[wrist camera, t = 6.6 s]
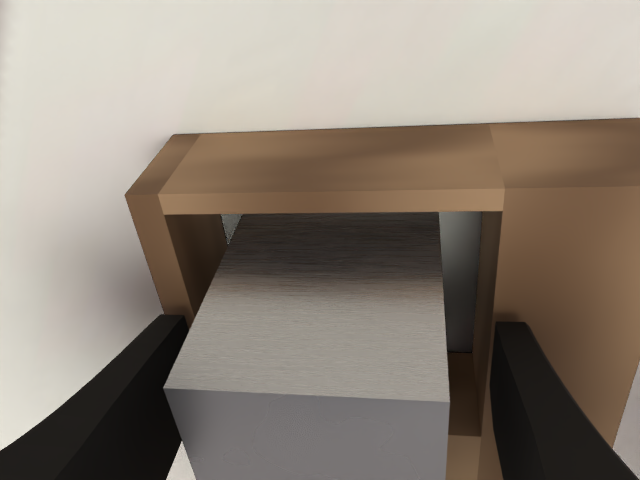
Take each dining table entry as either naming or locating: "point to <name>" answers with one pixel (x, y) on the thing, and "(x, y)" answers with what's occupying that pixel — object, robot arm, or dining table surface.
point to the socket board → (440, 196)
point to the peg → (319, 352)
